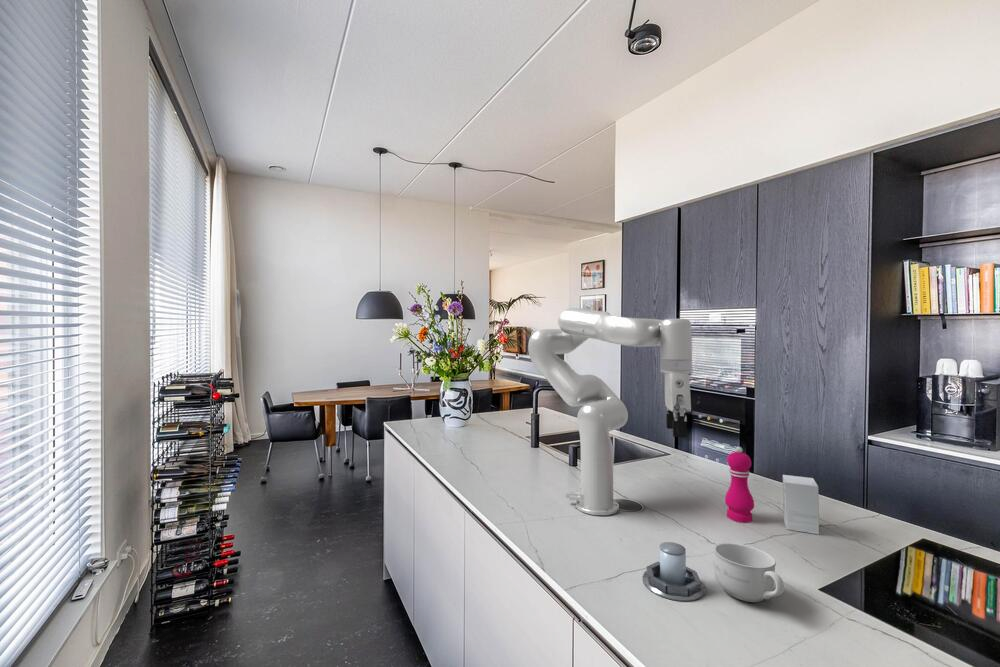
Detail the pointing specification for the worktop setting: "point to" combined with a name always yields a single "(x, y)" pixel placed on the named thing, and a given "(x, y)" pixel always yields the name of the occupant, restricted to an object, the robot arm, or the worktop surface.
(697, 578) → the faceted metallic bowl
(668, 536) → the worktop surface
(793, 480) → the supplement box
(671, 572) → the grey domed cylinder
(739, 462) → the pepper mill
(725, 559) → the teacup
